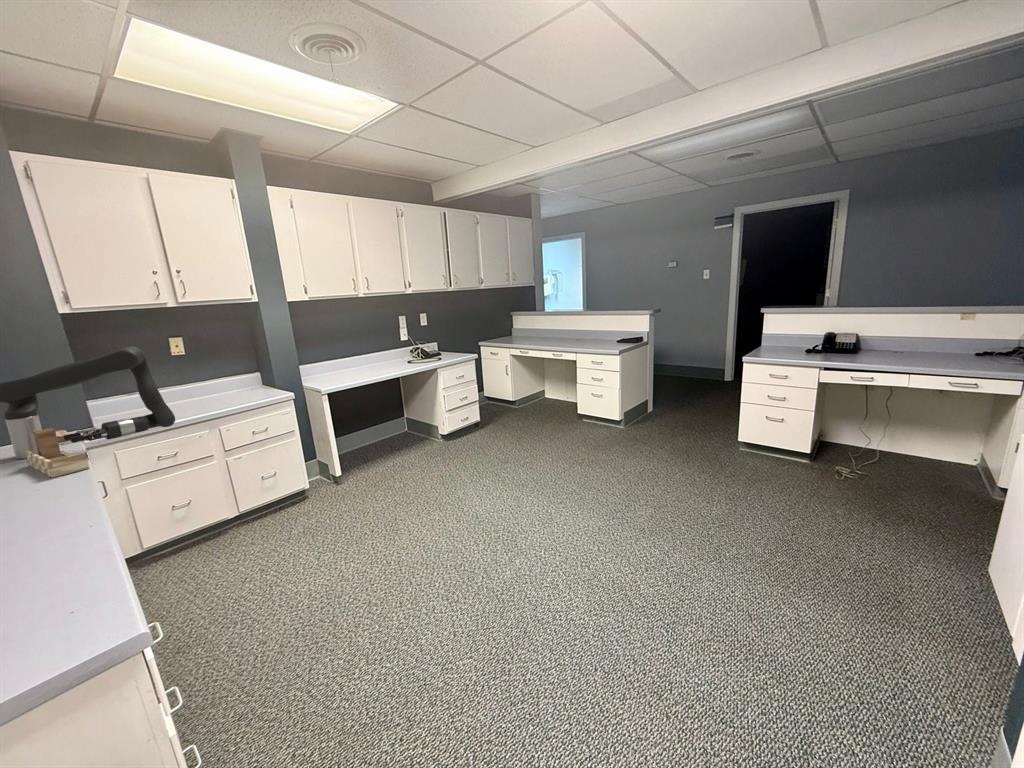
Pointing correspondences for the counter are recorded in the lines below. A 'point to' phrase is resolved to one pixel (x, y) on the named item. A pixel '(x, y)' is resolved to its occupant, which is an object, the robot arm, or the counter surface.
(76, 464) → the box
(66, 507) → the counter surface
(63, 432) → the packaged product
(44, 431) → the walnut block
